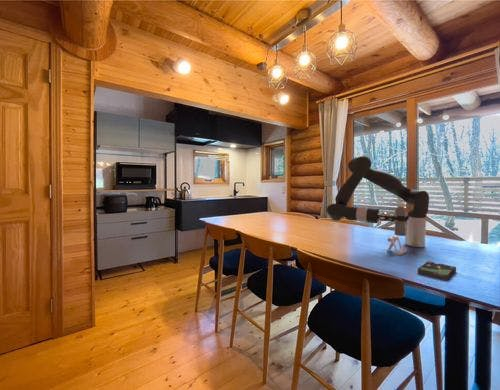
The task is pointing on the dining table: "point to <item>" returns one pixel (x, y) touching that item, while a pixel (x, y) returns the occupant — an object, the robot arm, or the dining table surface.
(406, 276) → the dining table surface
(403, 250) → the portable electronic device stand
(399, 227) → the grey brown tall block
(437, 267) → the disk drive
